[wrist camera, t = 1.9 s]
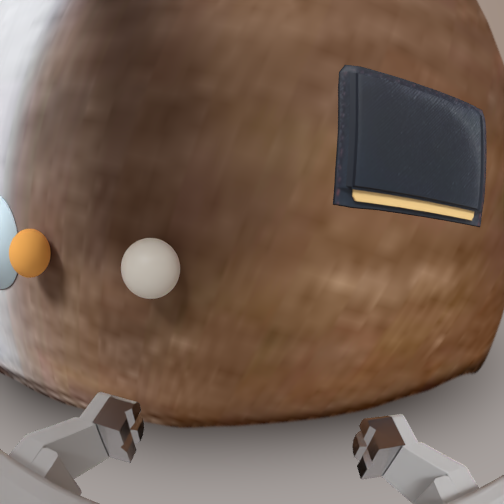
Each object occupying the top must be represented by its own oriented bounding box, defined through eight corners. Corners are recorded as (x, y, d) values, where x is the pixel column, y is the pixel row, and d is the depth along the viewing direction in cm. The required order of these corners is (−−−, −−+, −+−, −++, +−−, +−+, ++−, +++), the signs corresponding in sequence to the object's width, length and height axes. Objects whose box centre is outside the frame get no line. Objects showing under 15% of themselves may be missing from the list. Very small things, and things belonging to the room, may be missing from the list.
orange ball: (24, 245, 28) (-5, 255, 23) (42, 215, 27) (11, 222, 22) (46, 278, 29) (18, 293, 23) (66, 250, 28) (36, 262, 22)
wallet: (491, 110, 21) (485, 234, 25) (482, 112, 23) (476, 231, 27) (341, 53, 22) (330, 205, 25) (336, 60, 23) (325, 203, 27)
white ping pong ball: (125, 257, 28) (99, 272, 22) (160, 221, 27) (138, 230, 21) (160, 297, 28) (141, 320, 23) (198, 264, 28) (183, 282, 22)
